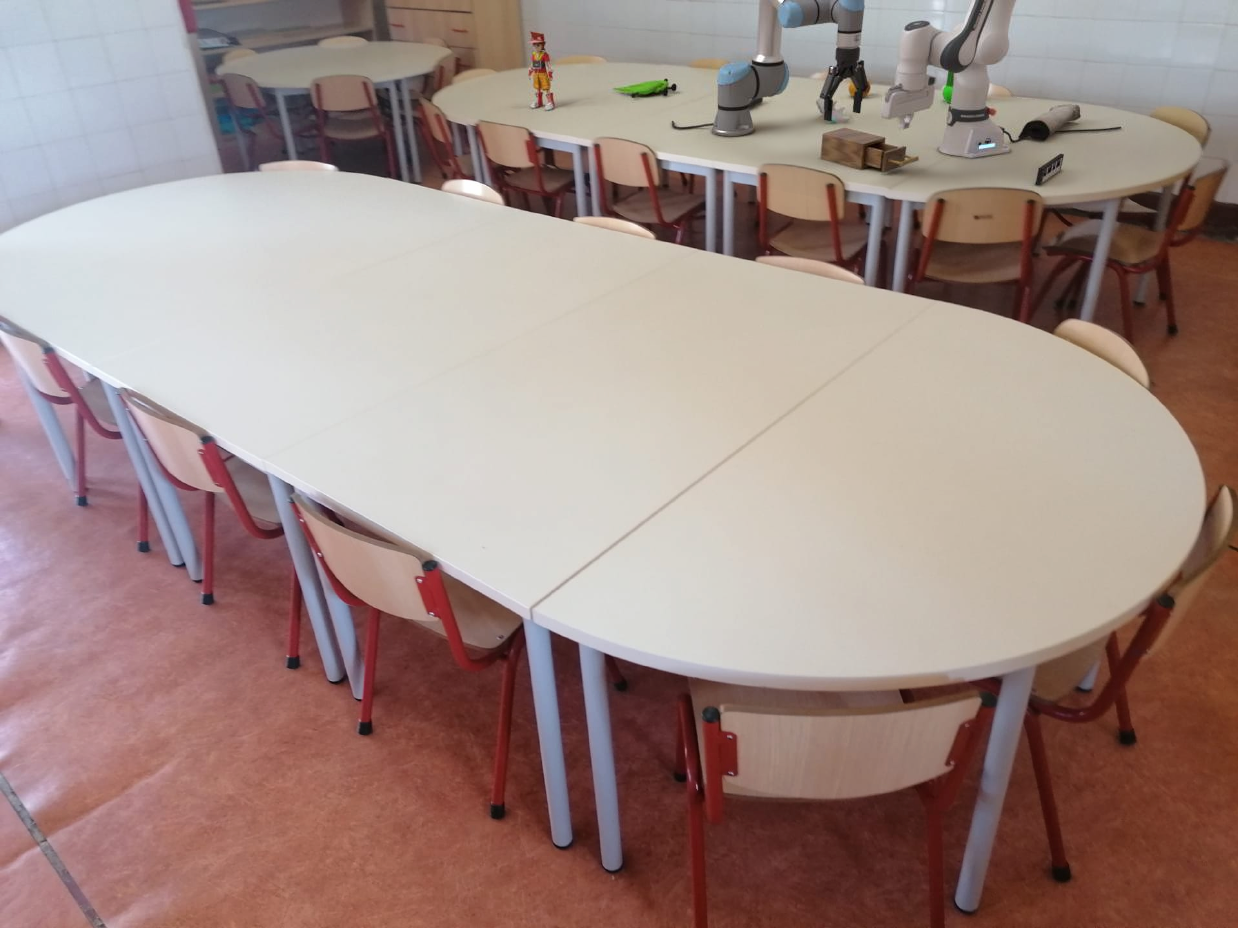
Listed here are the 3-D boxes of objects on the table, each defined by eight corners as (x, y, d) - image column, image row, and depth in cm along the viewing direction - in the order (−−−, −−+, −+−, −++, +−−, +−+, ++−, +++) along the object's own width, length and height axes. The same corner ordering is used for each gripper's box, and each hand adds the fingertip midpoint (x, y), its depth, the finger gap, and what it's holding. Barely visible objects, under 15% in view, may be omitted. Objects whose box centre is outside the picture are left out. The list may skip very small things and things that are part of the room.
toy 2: (686, 85, 398) (631, 84, 414) (685, 72, 395) (629, 72, 411) (651, 104, 381) (596, 103, 397) (650, 92, 378) (594, 91, 394)
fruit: (843, 89, 366) (855, 71, 363) (846, 93, 374) (858, 75, 371) (860, 101, 365) (872, 82, 362) (862, 104, 373) (874, 86, 369)
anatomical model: (811, 92, 345) (837, 85, 344) (814, 119, 351) (839, 112, 350) (821, 101, 332) (848, 94, 332) (824, 129, 338) (850, 122, 337)
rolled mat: (1047, 109, 327) (1072, 92, 319) (1061, 130, 327) (1086, 113, 319) (1014, 132, 309) (1039, 114, 301) (1028, 154, 310) (1054, 137, 302)
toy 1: (525, 109, 381) (517, 32, 364) (534, 104, 388) (527, 28, 371) (550, 110, 377) (543, 32, 360) (559, 105, 384) (553, 28, 367)
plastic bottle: (973, 101, 354) (984, 32, 339) (955, 106, 349) (966, 36, 335) (952, 97, 361) (962, 29, 346) (934, 102, 356) (944, 33, 342)
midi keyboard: (1039, 185, 269) (1043, 168, 266) (1035, 184, 270) (1038, 168, 267) (1060, 170, 279) (1064, 154, 277) (1056, 169, 280) (1060, 153, 277)
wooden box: (882, 162, 296) (885, 137, 291) (860, 169, 291) (863, 144, 286) (842, 152, 308) (844, 127, 303) (820, 158, 303) (822, 133, 299)
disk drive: (747, 111, 360) (763, 102, 370) (747, 104, 359) (763, 95, 369) (724, 109, 365) (740, 100, 375) (724, 101, 363) (740, 93, 373)
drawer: (919, 170, 285) (921, 150, 281) (899, 176, 280) (901, 156, 277) (864, 155, 300) (866, 136, 297) (845, 161, 296) (847, 142, 292)
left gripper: (829, 54, 276) (823, 126, 288) (884, 42, 287) (876, 111, 299) (811, 51, 281) (806, 121, 293) (866, 39, 292) (859, 107, 304)
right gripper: (895, 89, 263) (889, 137, 271) (940, 77, 272) (933, 124, 280) (878, 86, 267) (873, 133, 275) (923, 74, 277) (917, 120, 285)
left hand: (842, 116), depth 296 cm, fingers open, 13 cm apart
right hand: (904, 128), depth 278 cm, fingers closed
